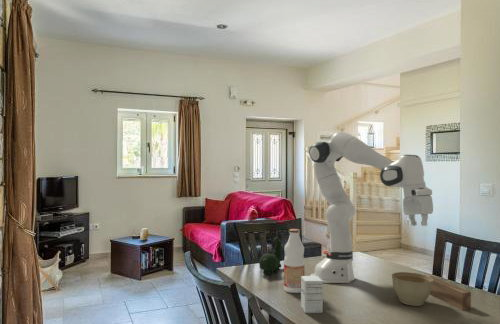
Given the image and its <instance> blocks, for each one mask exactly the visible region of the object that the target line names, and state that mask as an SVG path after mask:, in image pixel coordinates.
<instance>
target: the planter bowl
mask: <svg viewBox="0 0 500 324" xmlns="http://www.w3.org/2000/svg"><path fill="white" fill-rule="evenodd" d="M429 276H430V275H426V274H422V273H419V272H408V271H407V272H406V271H400V272H394V273H392V274H391V280H392V286H393V287H392V288H393V289H394V291H395V294H396V296H397V297H398V301H399V302H400V303H401V304H404V305H406V306H413V307H419V306H423V305H425V301H426V300H427V299H428V298H429V296H431V295H430V293H431V290H432V283H433V279H432V278H431V277H429Z"/></svg>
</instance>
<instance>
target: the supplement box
mask: <svg viewBox="0 0 500 324" xmlns="http://www.w3.org/2000/svg"><path fill="white" fill-rule="evenodd" d="M323 289H324V283H323V281H322V280H321V279H320V278H319V277H318V276H310V275H304V276H301V293H300V307H301V309H302V310H303V311H304V314H313V313H314V314H320V313H321V314H322V313H323V309H324V308H323V307H324V306H323V303H324V302H323V300H324V299H323V298H324V292H323V291H324V290H323Z"/></svg>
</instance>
